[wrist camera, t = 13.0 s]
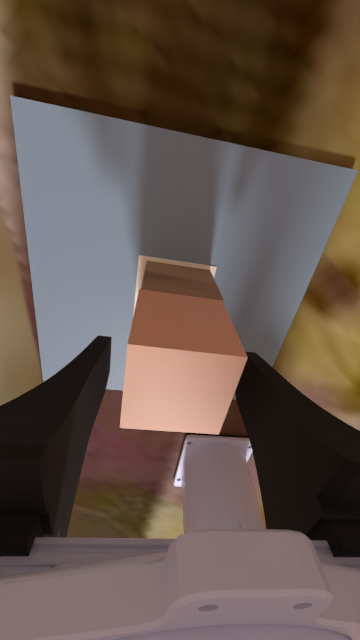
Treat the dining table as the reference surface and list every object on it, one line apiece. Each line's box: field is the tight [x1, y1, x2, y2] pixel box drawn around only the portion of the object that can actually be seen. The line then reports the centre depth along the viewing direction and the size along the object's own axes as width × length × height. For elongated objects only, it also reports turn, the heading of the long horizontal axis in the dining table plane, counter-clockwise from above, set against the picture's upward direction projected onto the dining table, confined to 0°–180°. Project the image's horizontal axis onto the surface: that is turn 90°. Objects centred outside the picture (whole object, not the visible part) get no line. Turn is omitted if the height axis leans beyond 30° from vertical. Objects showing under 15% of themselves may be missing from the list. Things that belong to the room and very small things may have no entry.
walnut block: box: [141, 261, 224, 302], centre depth 17 cm, size 4×4×5 cm
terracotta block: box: [120, 289, 248, 435], centre depth 13 cm, size 4×4×5 cm
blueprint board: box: [10, 96, 358, 400], centre depth 20 cm, size 20×20×1 cm
